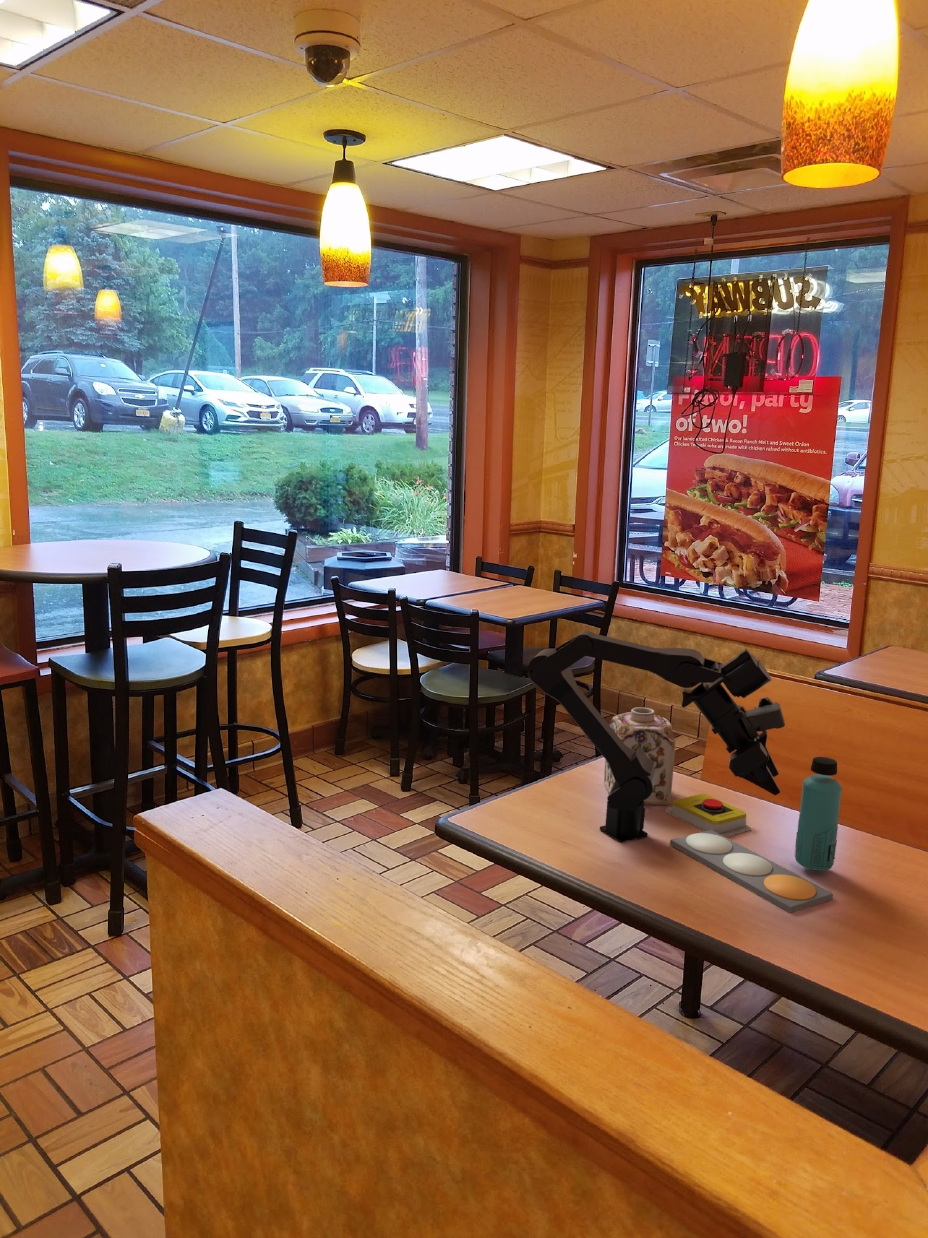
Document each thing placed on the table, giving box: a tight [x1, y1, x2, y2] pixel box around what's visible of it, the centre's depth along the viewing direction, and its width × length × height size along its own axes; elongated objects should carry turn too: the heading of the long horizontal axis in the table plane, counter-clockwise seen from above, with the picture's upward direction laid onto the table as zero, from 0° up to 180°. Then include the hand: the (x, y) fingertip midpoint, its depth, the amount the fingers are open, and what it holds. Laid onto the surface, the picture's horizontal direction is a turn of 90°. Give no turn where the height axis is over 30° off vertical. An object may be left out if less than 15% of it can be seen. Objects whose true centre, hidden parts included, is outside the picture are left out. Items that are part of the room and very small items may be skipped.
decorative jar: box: [603, 706, 676, 806], centre depth 190 cm, size 12×12×18 cm
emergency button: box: [664, 793, 753, 838], centre depth 180 cm, size 9×4×15 cm
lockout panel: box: [669, 830, 834, 914], centre depth 159 cm, size 10×27×1 cm, turn 30°
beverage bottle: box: [794, 756, 843, 871], centre depth 159 cm, size 6×7×20 cm
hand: (777, 784), depth 163 cm, fingers open, 9 cm apart
